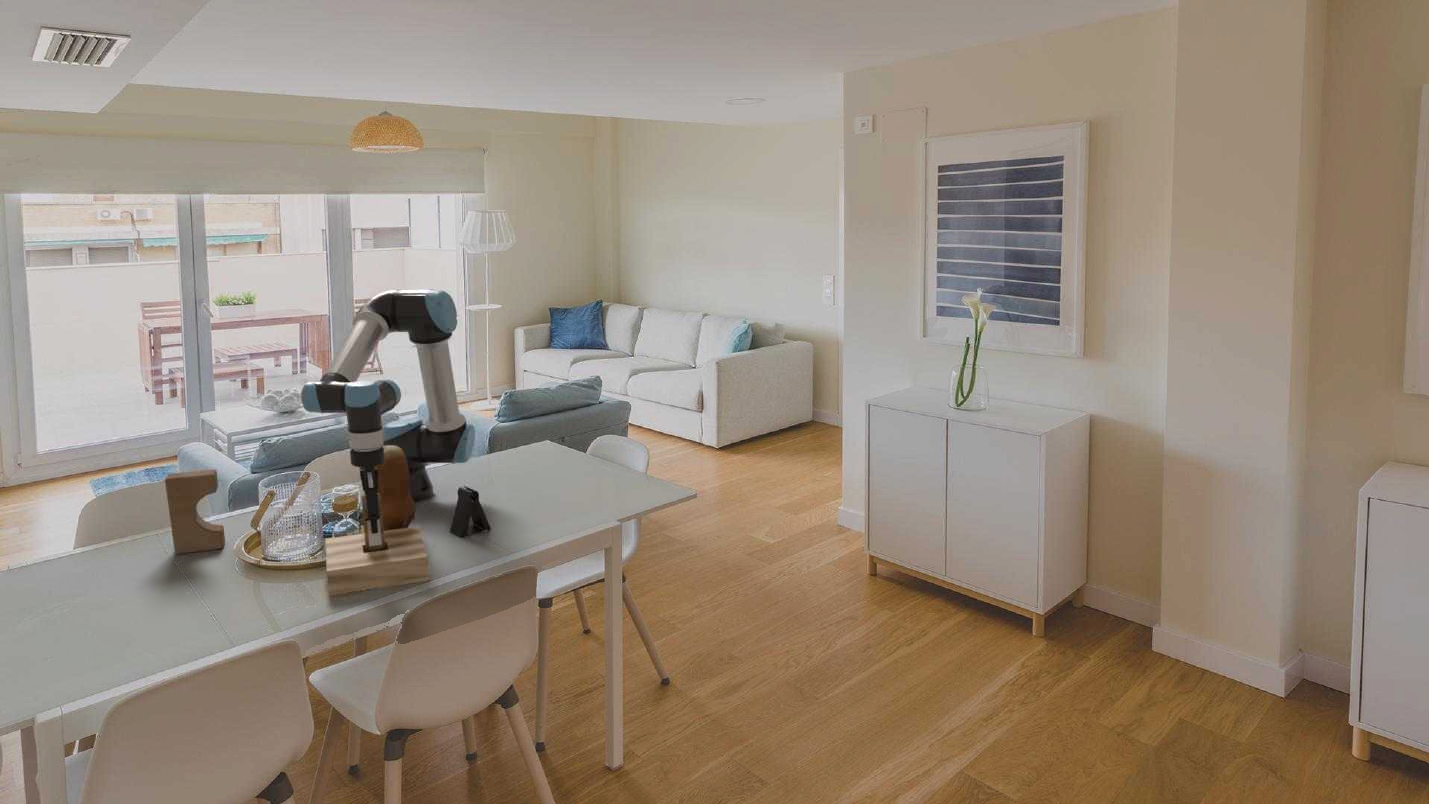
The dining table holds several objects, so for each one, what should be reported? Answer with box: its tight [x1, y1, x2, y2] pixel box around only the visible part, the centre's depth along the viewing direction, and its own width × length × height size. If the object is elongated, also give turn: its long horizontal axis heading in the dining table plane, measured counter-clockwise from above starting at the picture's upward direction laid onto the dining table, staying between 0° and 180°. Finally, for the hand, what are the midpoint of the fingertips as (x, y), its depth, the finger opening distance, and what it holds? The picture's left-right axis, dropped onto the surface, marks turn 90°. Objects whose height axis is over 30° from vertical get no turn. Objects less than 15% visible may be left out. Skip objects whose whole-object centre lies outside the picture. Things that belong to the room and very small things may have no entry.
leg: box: [361, 493, 385, 553], centre depth 225 cm, size 4×4×18 cm
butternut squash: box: [358, 445, 417, 531], centre depth 246 cm, size 14×13×25 cm
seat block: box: [324, 526, 430, 597], centre depth 226 cm, size 22×22×6 cm
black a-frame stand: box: [449, 485, 492, 539], centre depth 252 cm, size 9×6×12 cm, turn 135°
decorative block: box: [164, 468, 226, 555], centre depth 239 cm, size 11×6×20 cm, turn 111°
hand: (374, 539), depth 225 cm, fingers open, 6 cm apart
